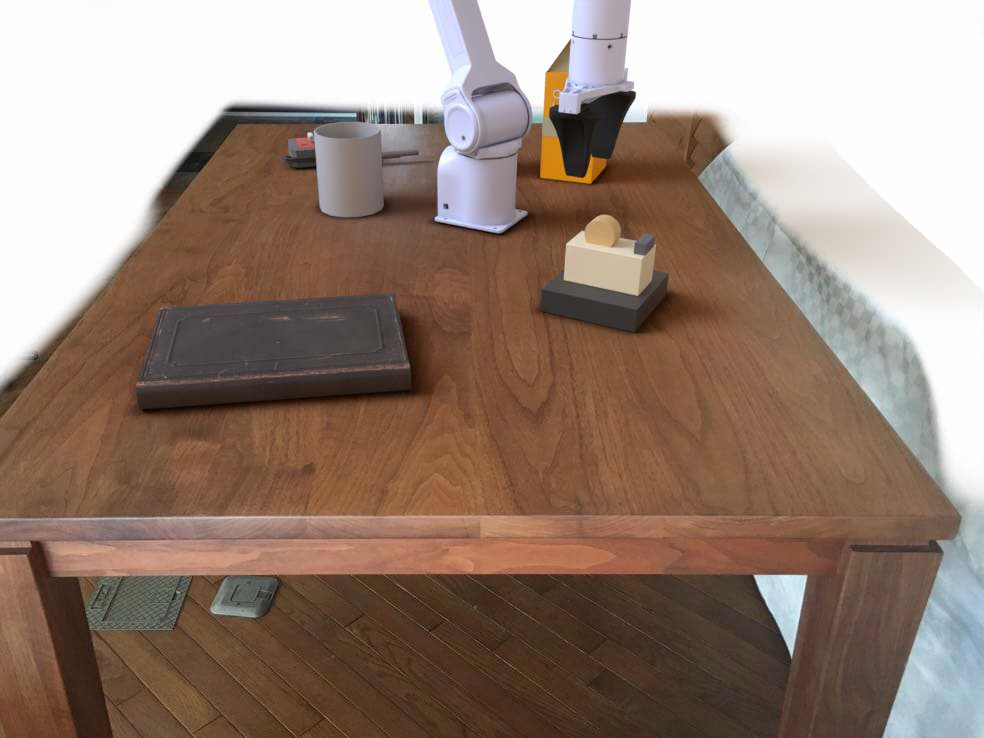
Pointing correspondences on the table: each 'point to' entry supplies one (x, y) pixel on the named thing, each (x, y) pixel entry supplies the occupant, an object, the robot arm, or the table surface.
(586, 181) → the orange juice
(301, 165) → the walkie-talkie
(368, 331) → the hardcover book
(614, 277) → the tape dispenser
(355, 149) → the cup
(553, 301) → the black box
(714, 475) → the table surface
